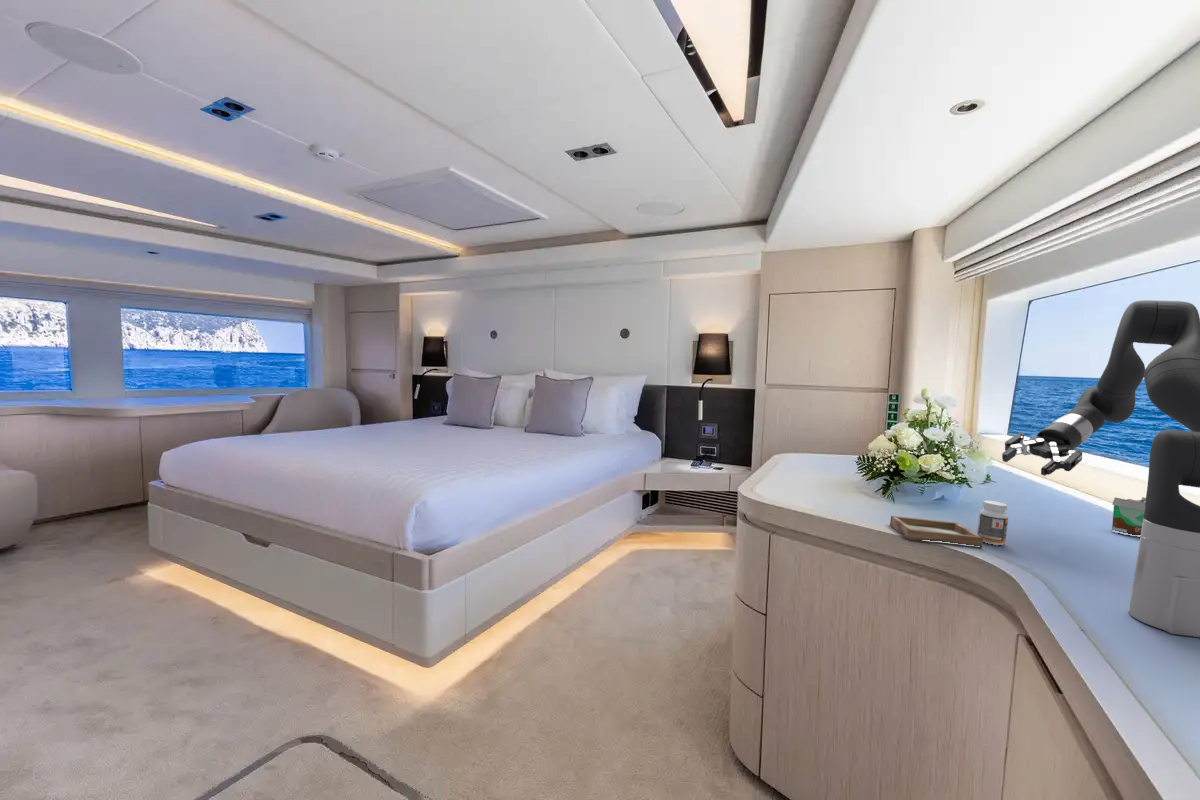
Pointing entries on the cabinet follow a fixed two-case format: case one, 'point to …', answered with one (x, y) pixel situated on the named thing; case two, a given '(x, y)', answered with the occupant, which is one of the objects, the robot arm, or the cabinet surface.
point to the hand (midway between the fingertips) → (1022, 465)
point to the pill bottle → (993, 523)
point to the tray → (935, 531)
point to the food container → (1128, 515)
